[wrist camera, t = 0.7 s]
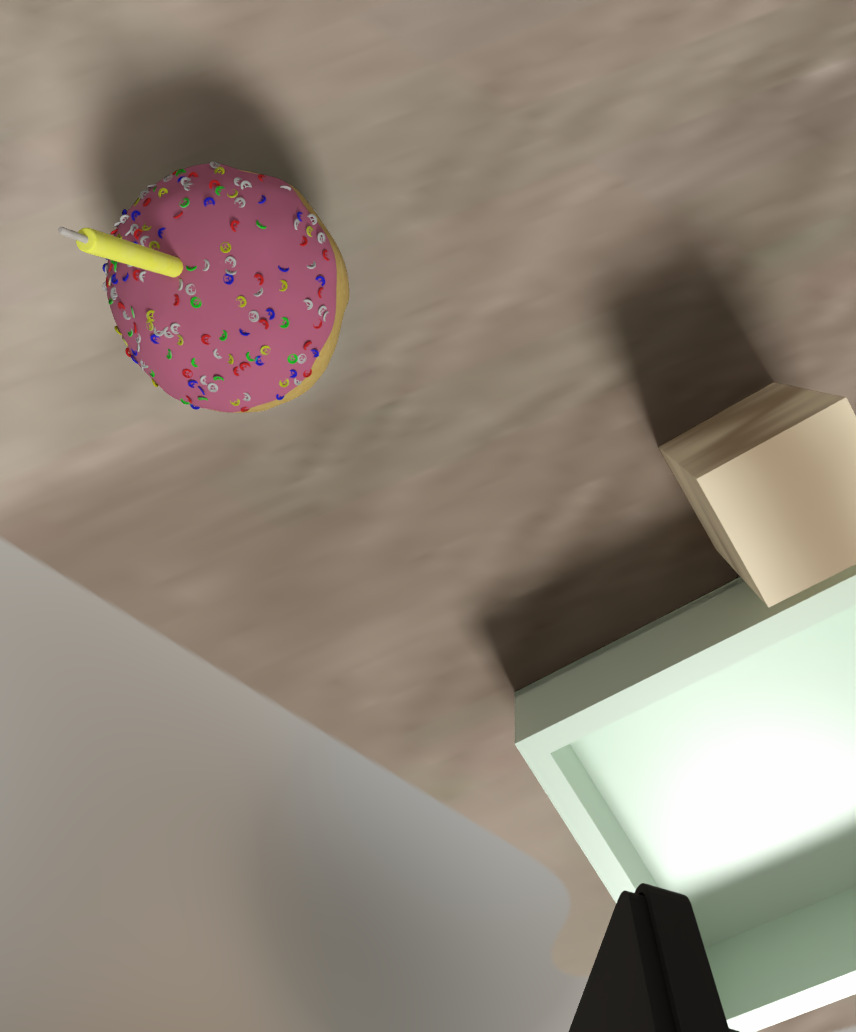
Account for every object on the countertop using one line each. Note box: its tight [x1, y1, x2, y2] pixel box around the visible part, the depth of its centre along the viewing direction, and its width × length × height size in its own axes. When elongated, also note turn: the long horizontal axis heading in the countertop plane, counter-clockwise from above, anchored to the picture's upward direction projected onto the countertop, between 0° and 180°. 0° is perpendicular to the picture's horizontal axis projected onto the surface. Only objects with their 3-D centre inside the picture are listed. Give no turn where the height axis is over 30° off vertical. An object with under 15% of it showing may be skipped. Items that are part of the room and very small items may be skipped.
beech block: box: [658, 382, 856, 607], centre depth 28 cm, size 5×5×7 cm
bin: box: [515, 564, 856, 1032], centre depth 32 cm, size 16×16×4 cm
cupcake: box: [58, 161, 349, 413], centre depth 26 cm, size 9×8×12 cm
